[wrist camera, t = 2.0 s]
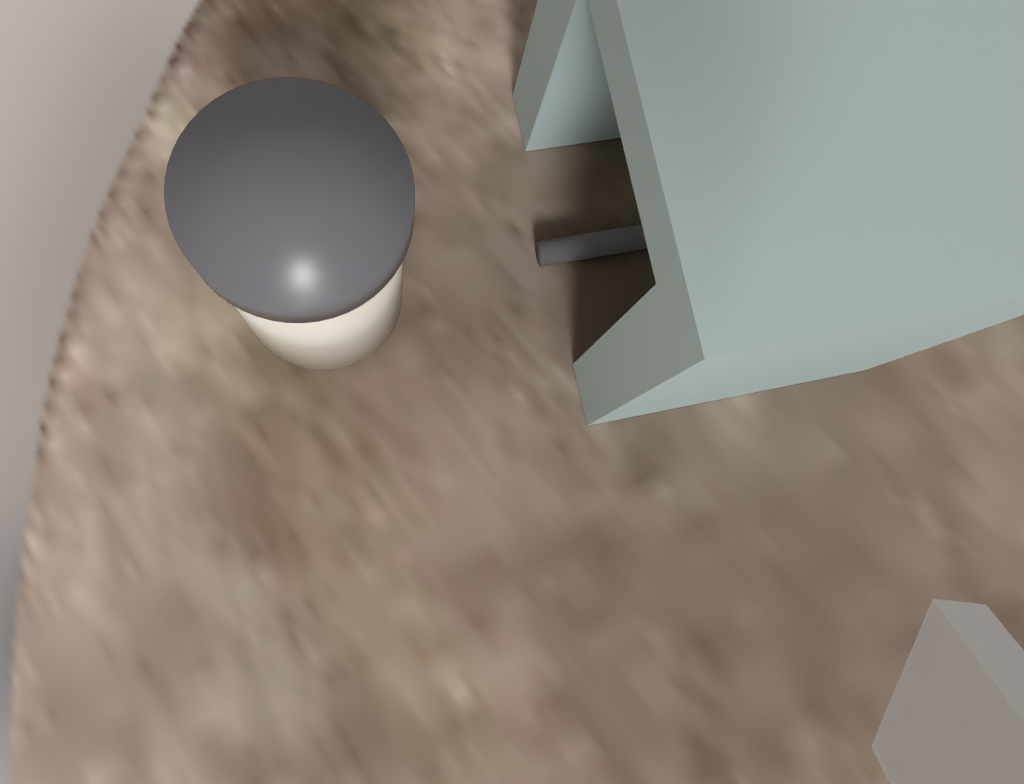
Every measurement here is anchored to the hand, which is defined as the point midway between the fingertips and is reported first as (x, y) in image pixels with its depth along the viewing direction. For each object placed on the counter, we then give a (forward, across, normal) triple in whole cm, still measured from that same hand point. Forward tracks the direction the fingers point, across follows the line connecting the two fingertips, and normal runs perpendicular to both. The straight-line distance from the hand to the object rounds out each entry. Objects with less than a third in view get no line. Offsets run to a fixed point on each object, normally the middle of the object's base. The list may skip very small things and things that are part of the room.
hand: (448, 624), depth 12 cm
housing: (+25, -8, -1) cm, 27 cm away
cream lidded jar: (+22, +6, +3) cm, 23 cm away
